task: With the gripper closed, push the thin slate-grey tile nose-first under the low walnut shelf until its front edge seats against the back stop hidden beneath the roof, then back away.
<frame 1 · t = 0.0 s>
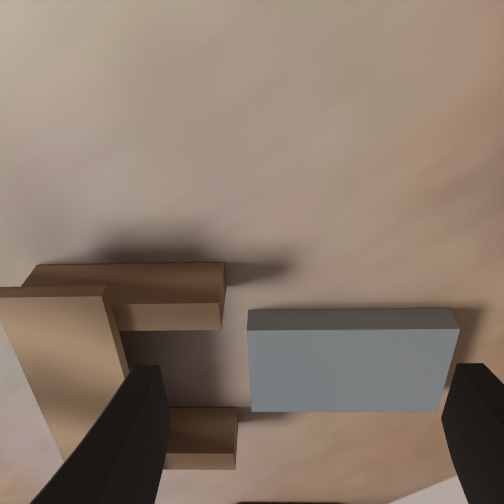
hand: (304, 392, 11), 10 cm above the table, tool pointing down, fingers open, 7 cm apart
tile: (342, 345, 25), on the table
shelf: (158, 353, 25), on the table
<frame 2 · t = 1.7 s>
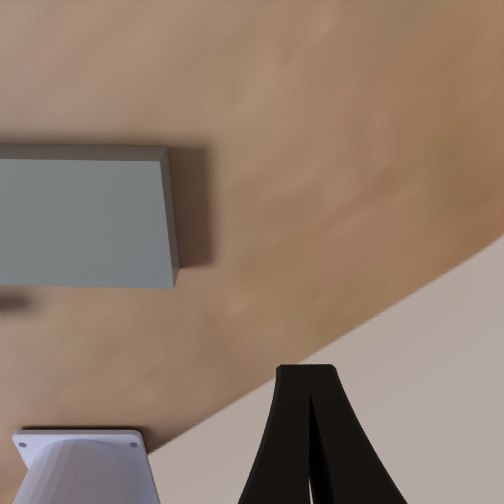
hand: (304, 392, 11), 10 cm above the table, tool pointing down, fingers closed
tile: (64, 205, 21), on the table
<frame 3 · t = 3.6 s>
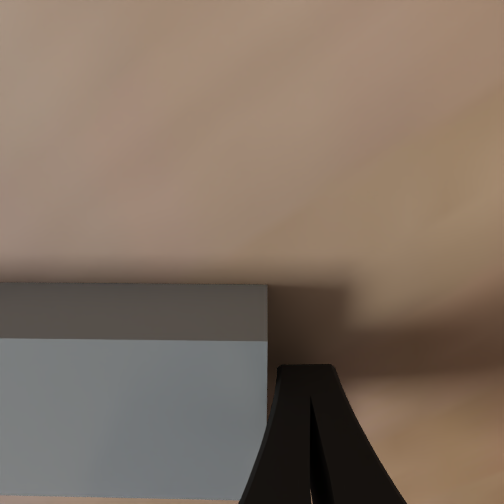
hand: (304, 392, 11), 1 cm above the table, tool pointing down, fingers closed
tile: (86, 366, 13), on the table
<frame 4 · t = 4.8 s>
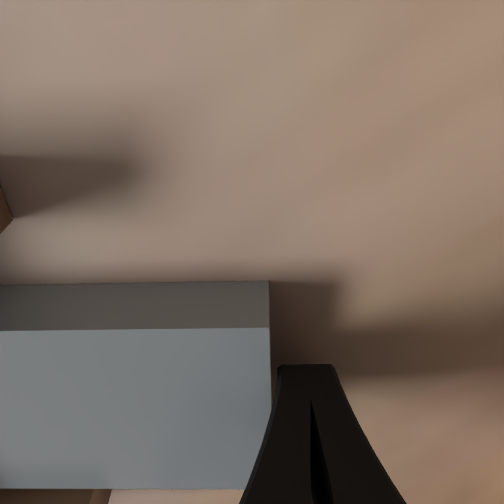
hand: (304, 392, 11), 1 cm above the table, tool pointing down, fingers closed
tile: (94, 360, 13), on the table
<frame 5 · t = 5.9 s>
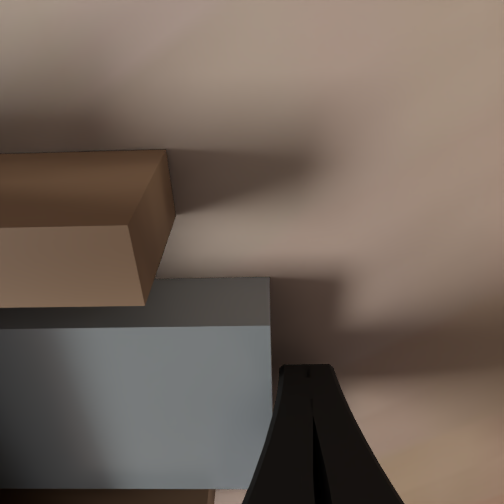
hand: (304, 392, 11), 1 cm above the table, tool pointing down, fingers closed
tile: (93, 359, 13), on the table, touching gripper, shelf
shelf: (51, 363, 13), on the table
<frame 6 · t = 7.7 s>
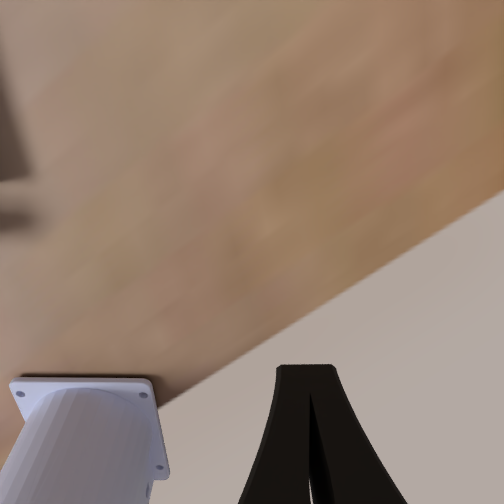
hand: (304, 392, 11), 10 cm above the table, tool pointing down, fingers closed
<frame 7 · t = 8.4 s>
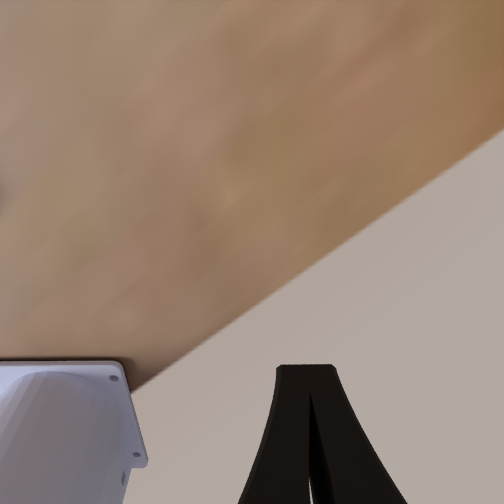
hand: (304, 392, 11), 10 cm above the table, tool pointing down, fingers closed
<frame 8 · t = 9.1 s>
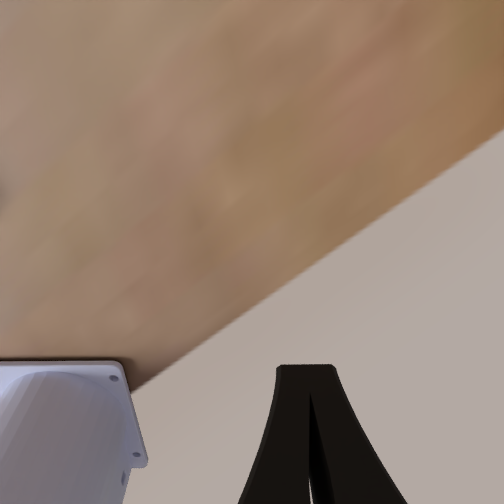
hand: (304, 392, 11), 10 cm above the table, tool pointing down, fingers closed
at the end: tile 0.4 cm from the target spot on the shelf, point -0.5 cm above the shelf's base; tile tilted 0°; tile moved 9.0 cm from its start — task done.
